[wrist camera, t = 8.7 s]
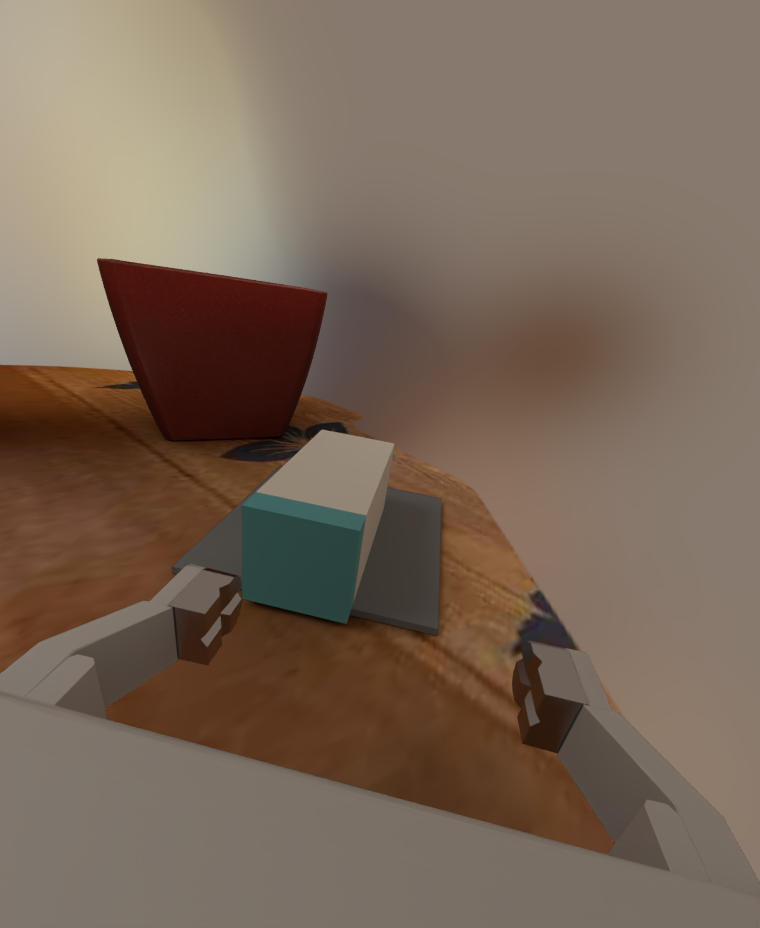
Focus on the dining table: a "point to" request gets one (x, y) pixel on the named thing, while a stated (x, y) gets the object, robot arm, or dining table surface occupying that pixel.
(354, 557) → the cream block
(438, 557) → the mat
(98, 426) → the dining table surface
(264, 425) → the plant pot
